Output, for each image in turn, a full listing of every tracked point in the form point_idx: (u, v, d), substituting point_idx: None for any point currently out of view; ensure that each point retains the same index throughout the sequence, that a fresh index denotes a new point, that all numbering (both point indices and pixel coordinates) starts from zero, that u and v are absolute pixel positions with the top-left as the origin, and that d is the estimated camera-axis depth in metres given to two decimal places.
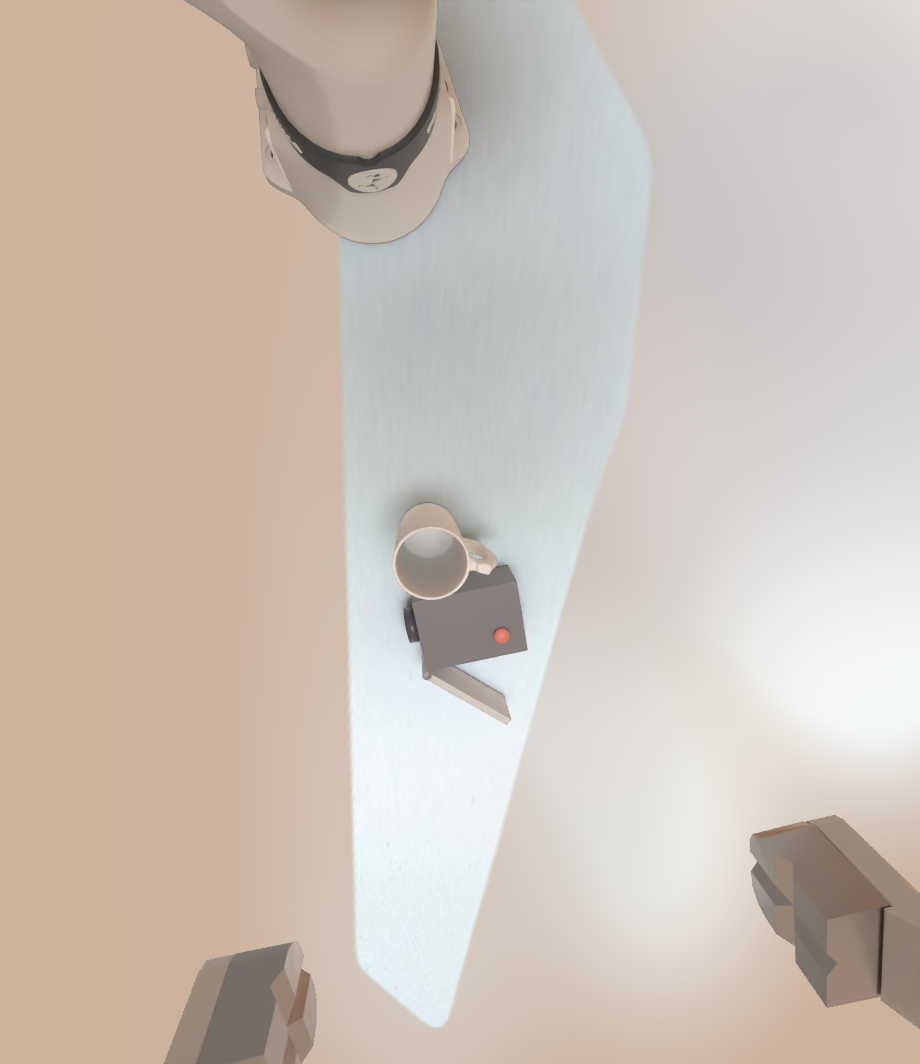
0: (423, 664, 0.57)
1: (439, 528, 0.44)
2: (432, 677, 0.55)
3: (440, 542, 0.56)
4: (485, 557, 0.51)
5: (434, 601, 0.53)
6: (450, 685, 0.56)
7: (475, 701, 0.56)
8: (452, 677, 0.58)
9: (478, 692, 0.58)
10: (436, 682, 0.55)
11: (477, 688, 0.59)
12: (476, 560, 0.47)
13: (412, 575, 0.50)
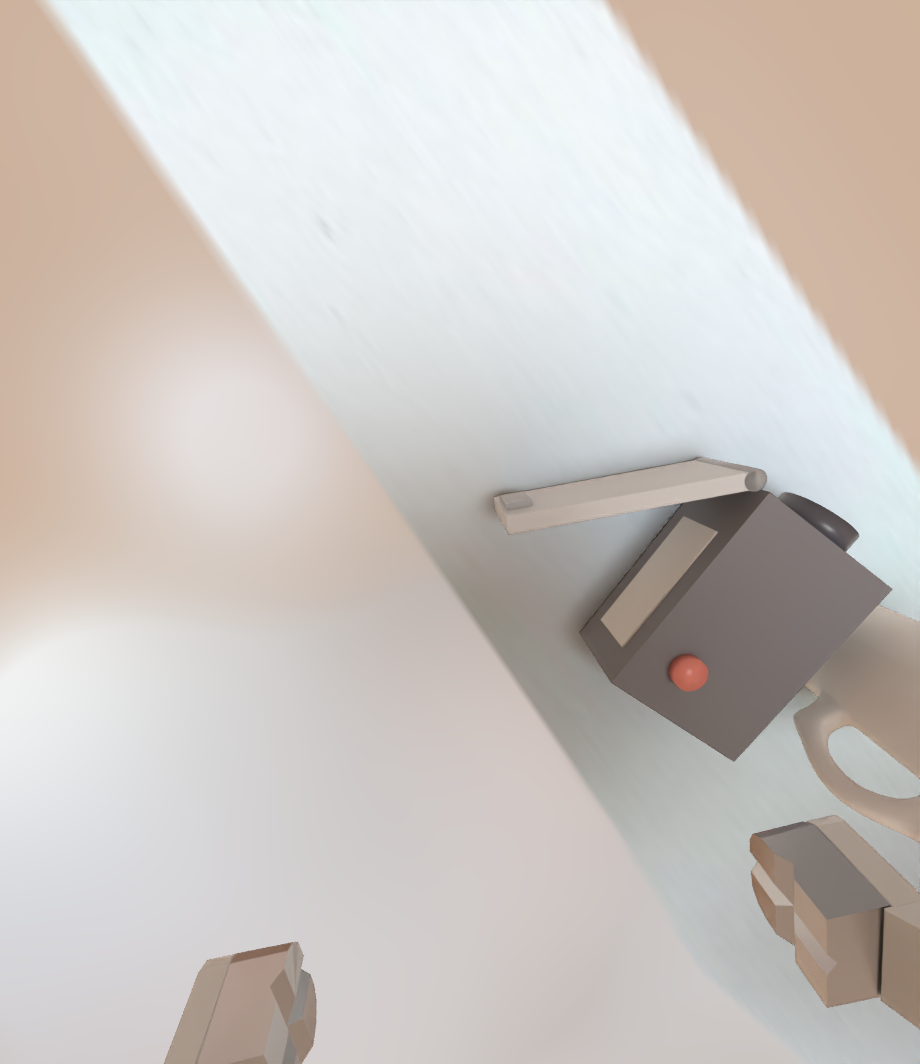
0: None
1: None
2: (742, 485, 0.22)
3: None
4: None
5: (851, 624, 0.24)
6: (692, 499, 0.22)
7: (615, 509, 0.22)
8: None
9: None
10: (726, 482, 0.22)
11: None
12: None
13: None
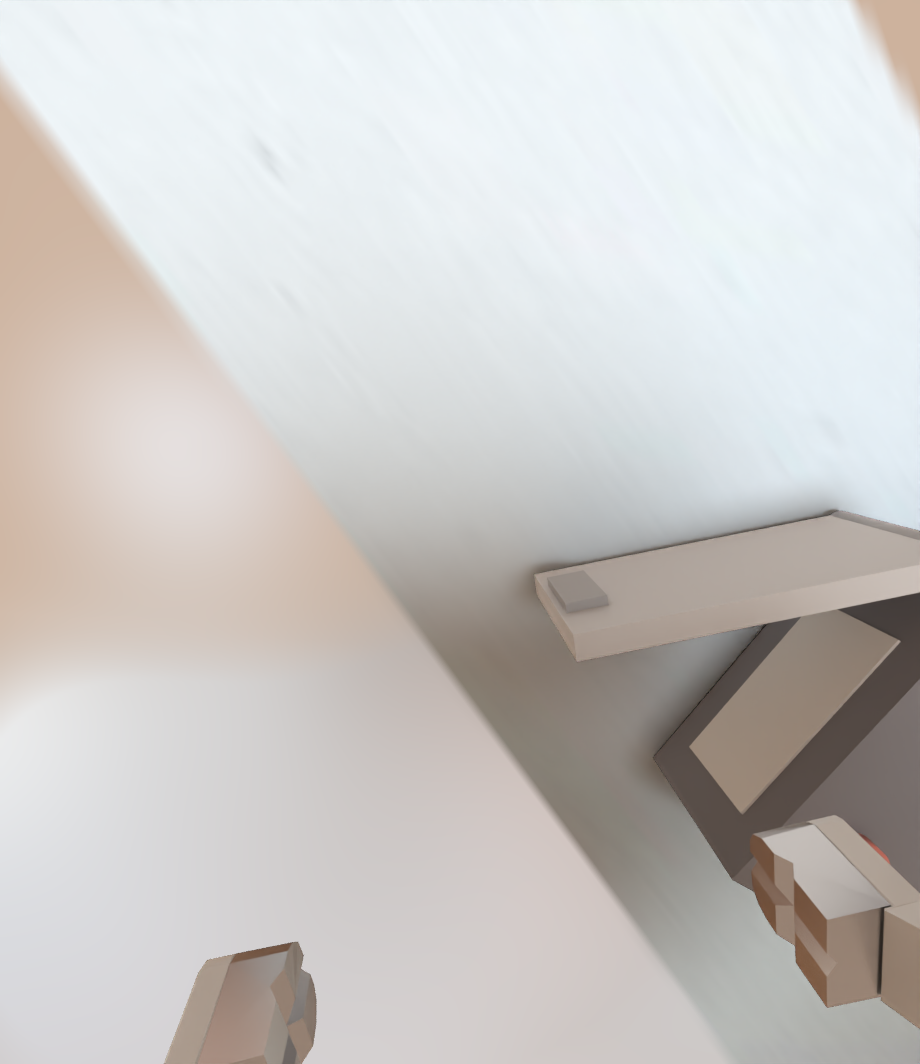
0: None
1: None
2: None
3: None
4: None
5: None
6: (877, 598, 0.14)
7: (751, 618, 0.14)
8: None
9: None
10: None
11: None
12: None
13: None
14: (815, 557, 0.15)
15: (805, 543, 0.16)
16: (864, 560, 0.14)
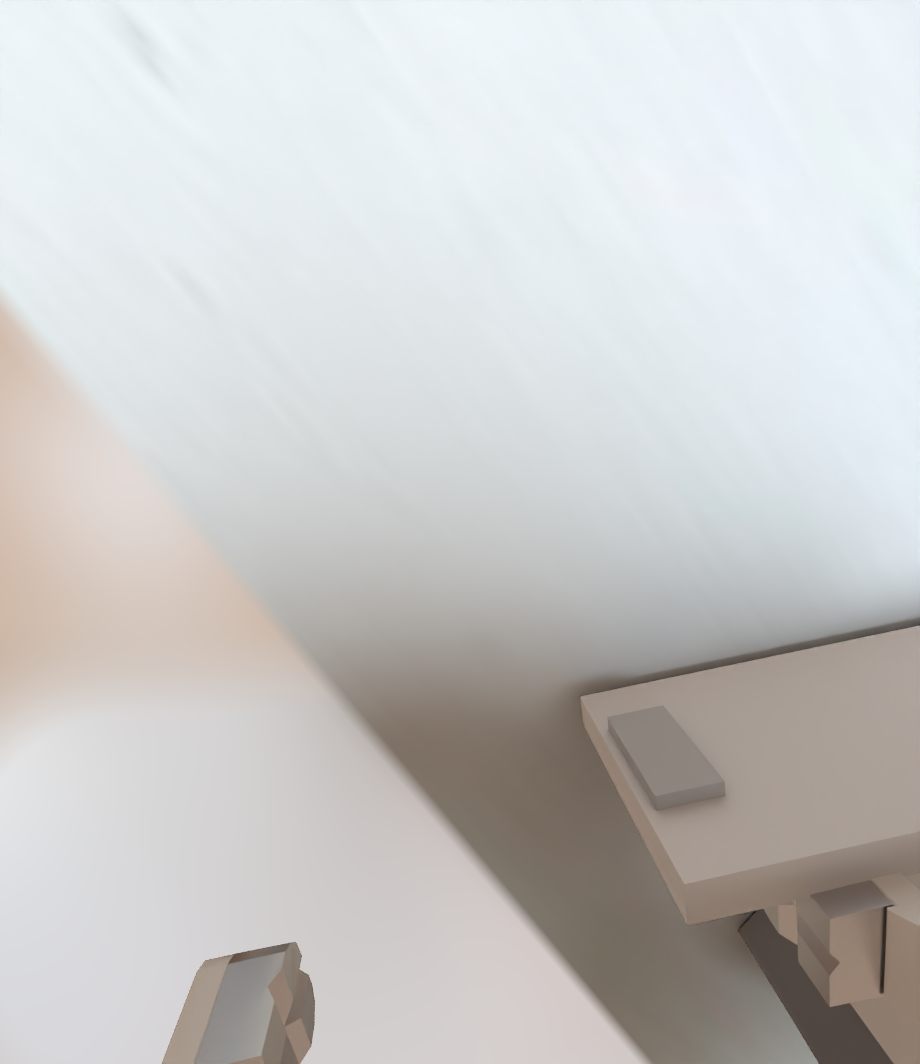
0: None
1: None
2: None
3: None
4: None
5: None
6: None
7: None
8: None
9: None
10: None
11: None
12: None
13: None
14: None
15: None
16: None
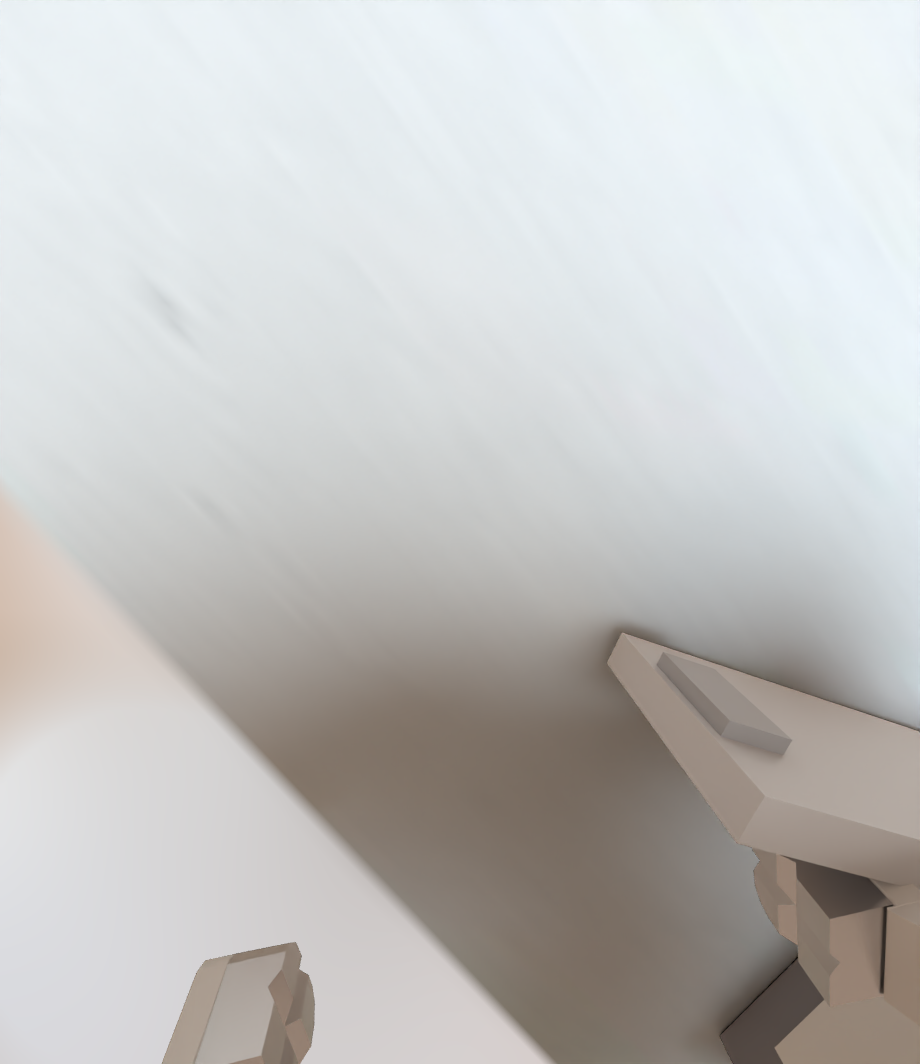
0: None
1: None
2: None
3: None
4: None
5: None
6: None
7: None
8: None
9: None
10: None
11: None
12: None
13: None
14: None
15: None
16: None
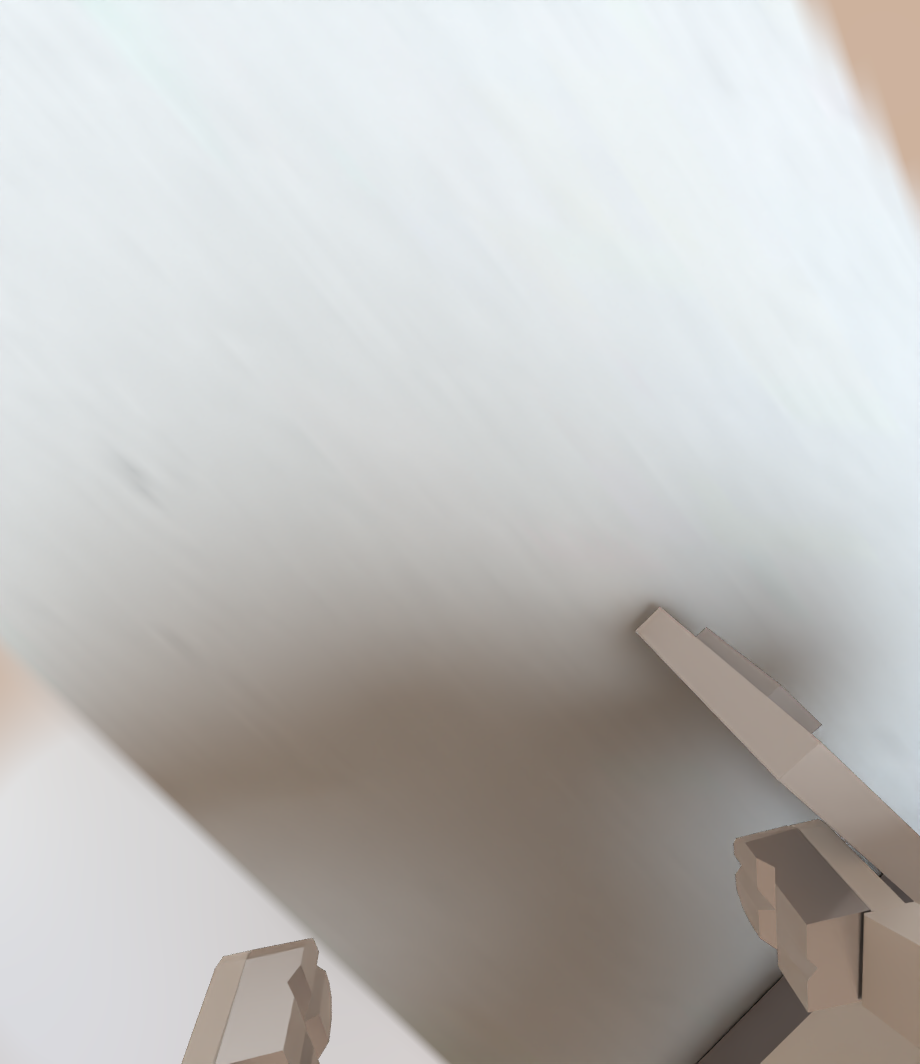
0: None
1: None
2: None
3: None
4: None
5: None
6: None
7: None
8: None
9: None
10: None
11: None
12: None
13: None
14: None
15: None
16: None
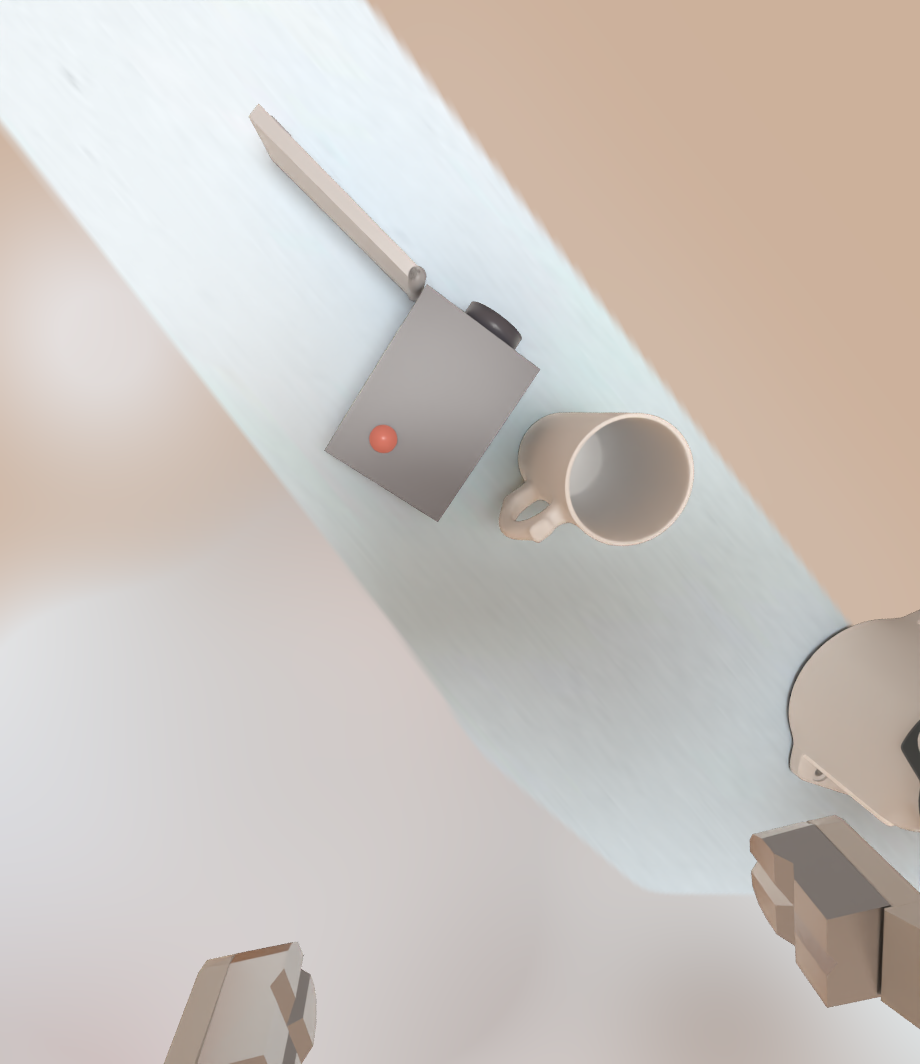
0: (421, 289, 0.31)
1: (658, 533, 0.27)
2: (407, 269, 0.29)
3: None
4: (514, 519, 0.31)
5: (512, 399, 0.31)
6: (374, 241, 0.28)
7: (326, 188, 0.27)
8: (370, 247, 0.30)
9: (320, 197, 0.29)
10: (401, 255, 0.28)
11: (323, 203, 0.30)
12: (555, 527, 0.28)
13: None
14: None
15: None
16: None
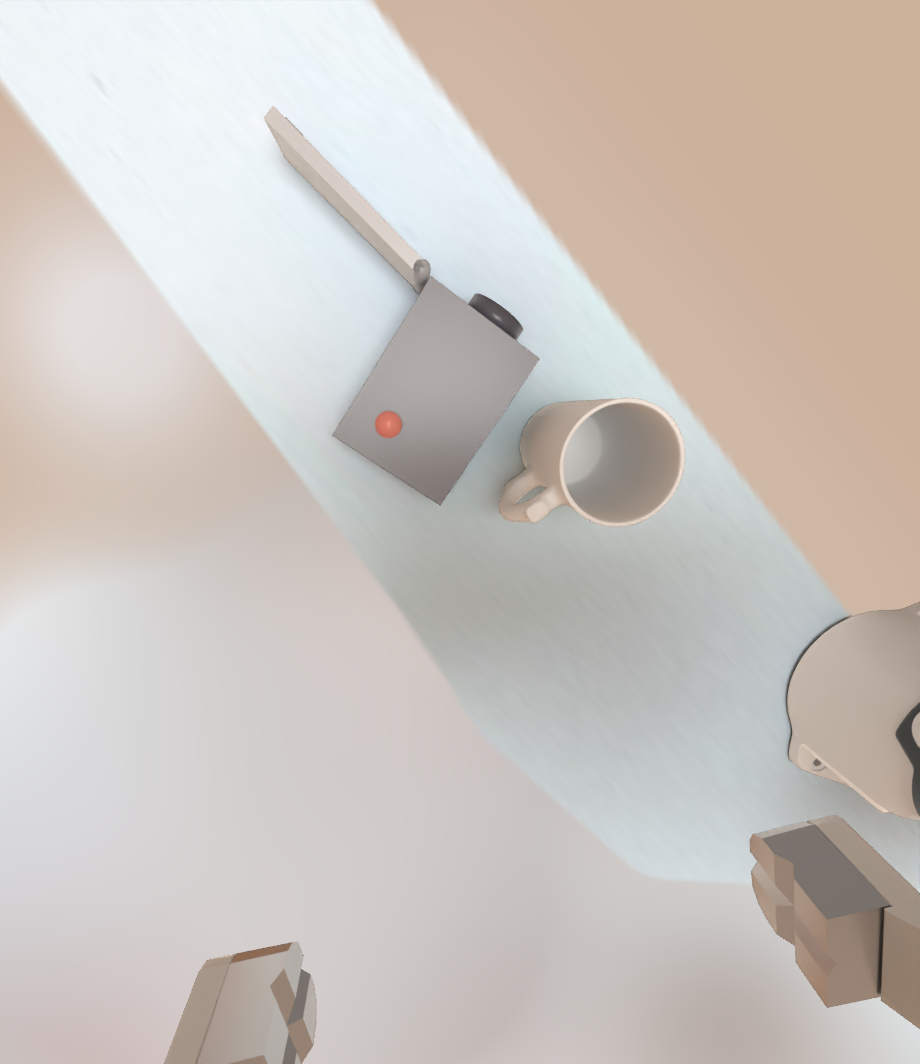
0: (426, 282, 0.32)
1: (650, 515, 0.28)
2: (412, 262, 0.30)
3: None
4: (513, 503, 0.32)
5: (513, 388, 0.32)
6: (381, 235, 0.29)
7: (336, 185, 0.29)
8: (378, 242, 0.31)
9: (331, 194, 0.30)
10: (406, 249, 0.30)
11: (333, 199, 0.31)
12: None
13: None
14: None
15: None
16: None
